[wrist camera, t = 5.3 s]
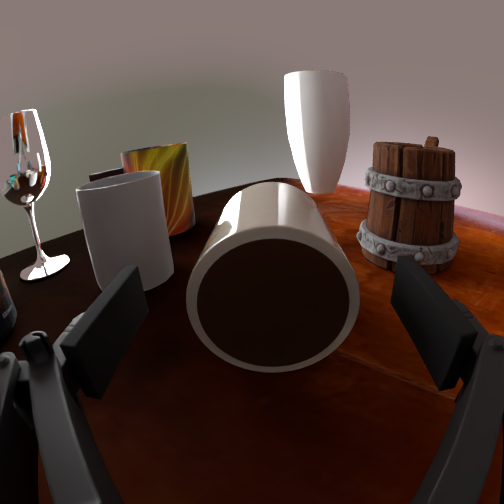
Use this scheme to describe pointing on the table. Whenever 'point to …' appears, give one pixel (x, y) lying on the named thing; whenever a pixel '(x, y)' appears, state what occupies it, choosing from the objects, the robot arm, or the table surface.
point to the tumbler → (272, 283)
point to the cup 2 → (318, 126)
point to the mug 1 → (163, 180)
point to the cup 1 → (126, 227)
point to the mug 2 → (411, 205)
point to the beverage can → (6, 309)
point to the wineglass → (27, 180)
